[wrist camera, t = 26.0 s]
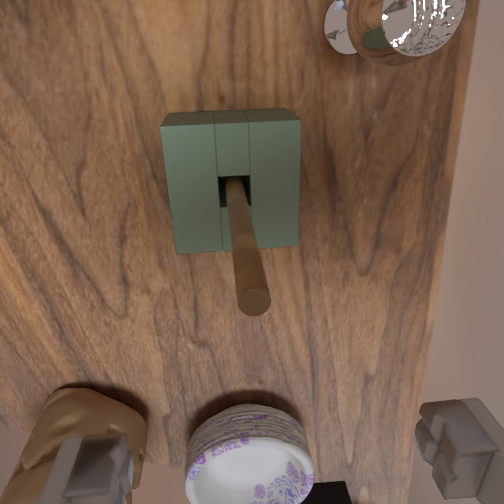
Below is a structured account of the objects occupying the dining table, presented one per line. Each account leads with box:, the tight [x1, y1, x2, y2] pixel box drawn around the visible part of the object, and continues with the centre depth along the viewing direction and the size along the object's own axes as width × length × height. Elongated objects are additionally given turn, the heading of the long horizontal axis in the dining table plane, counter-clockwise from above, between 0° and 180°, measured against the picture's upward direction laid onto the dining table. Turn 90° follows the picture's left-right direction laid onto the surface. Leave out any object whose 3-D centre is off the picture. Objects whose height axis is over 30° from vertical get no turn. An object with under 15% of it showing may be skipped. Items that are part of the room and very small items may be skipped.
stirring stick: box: [224, 176, 271, 316], centre depth 26 cm, size 1×1×22 cm
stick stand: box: [159, 108, 302, 254], centre depth 33 cm, size 10×10×7 cm
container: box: [0, 388, 147, 504], centre depth 40 cm, size 13×13×18 cm
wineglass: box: [324, 0, 466, 66], centre depth 26 cm, size 6×6×12 cm
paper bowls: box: [184, 404, 315, 504], centre depth 48 cm, size 15×15×8 cm
